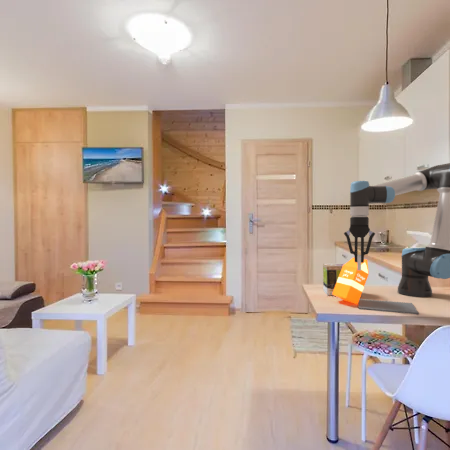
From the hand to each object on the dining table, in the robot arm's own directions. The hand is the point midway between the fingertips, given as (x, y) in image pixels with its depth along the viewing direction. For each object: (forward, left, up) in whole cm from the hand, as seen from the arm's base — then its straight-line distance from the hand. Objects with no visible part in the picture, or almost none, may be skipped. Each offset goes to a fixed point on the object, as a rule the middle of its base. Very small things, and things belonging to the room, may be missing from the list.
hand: (359, 269), depth 149 cm
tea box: (+9, -19, -16) cm, 26 cm away
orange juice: (+6, 0, -14) cm, 15 cm away
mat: (-11, 0, -15) cm, 19 cm away
